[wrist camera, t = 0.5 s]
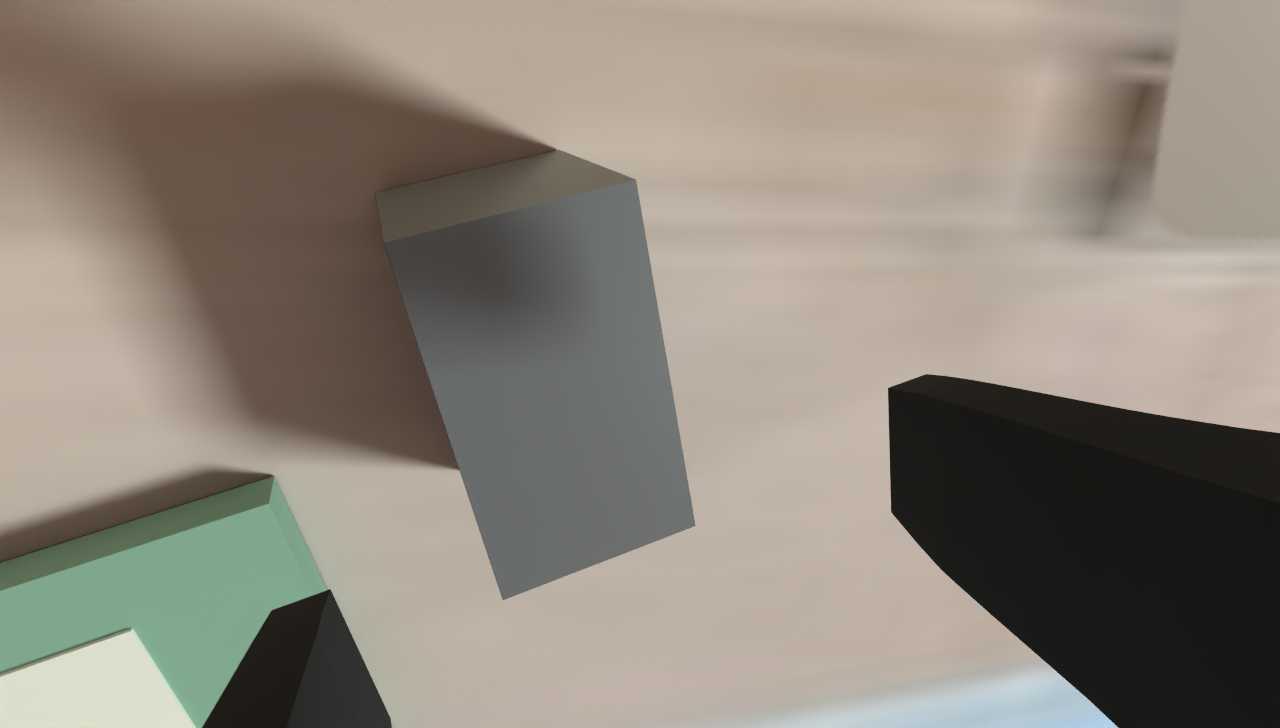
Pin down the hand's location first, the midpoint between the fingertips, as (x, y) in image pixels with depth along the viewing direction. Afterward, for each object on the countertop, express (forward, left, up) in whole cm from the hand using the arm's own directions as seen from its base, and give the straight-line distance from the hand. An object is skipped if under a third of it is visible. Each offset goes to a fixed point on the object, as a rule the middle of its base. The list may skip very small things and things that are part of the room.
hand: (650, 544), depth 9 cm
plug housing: (0, 0, -9) cm, 9 cm away
